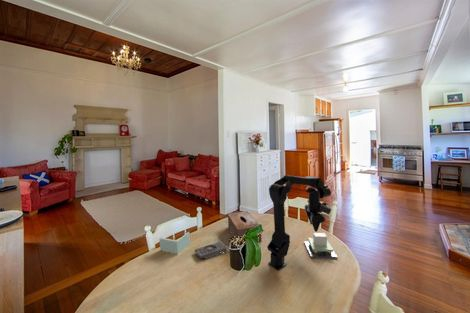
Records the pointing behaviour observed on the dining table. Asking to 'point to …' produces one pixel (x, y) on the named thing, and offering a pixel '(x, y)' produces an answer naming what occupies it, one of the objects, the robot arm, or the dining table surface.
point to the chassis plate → (320, 253)
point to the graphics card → (212, 250)
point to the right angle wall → (175, 244)
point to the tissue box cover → (241, 223)
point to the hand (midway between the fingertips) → (313, 227)
